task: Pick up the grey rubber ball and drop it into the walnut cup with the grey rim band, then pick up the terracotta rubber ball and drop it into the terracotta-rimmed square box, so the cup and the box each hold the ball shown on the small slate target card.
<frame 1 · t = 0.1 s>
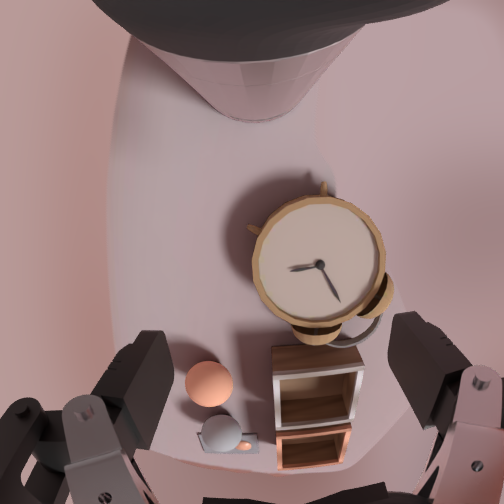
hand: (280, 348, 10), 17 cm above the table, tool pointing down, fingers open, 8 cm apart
terracotta-rimmed square box: (308, 425, 34), on the table
alarm clock: (322, 268, 28), on the table
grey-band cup: (311, 373, 31), on the table
grey ball: (221, 433, 32), point 2 cm above the table
target card: (229, 443, 36), on the table
terracotta ball: (208, 384, 29), point 2 cm above the table
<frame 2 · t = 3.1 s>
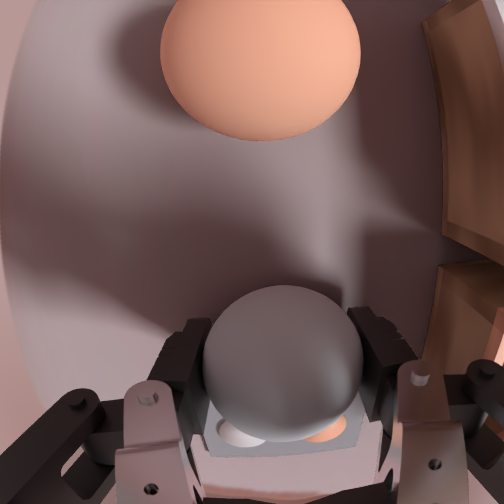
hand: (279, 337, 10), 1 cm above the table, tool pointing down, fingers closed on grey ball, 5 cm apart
terracotta-rimmed square box: (487, 336, 11), on the table
grey ball: (283, 364, 9), point 2 cm above the table, touching gripper
target card: (282, 425, 13), on the table
terracotta ball: (260, 49, 6), point 2 cm above the table
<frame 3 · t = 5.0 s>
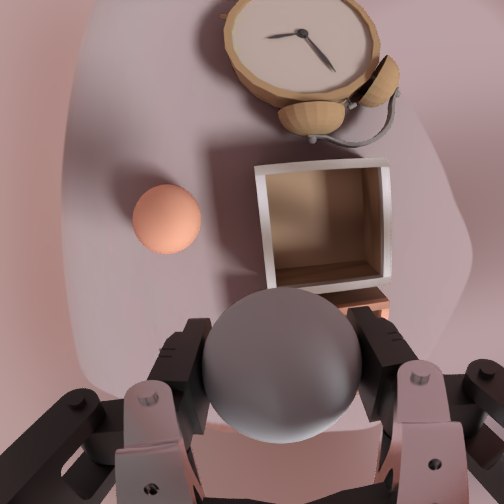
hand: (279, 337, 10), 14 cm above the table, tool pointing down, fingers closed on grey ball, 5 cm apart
terracotta-rimmed square box: (321, 329, 26), on the table
alarm clock: (311, 67, 20), on the table
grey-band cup: (317, 217, 23), on the table
grey ball: (282, 366, 9), point 15 cm above the table, touching gripper
terracotta ball: (166, 219, 21), point 2 cm above the table
when the fingers open (6 cm above the table, at t = 7.2 s): grey ball drops 5 cm, resting on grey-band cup.
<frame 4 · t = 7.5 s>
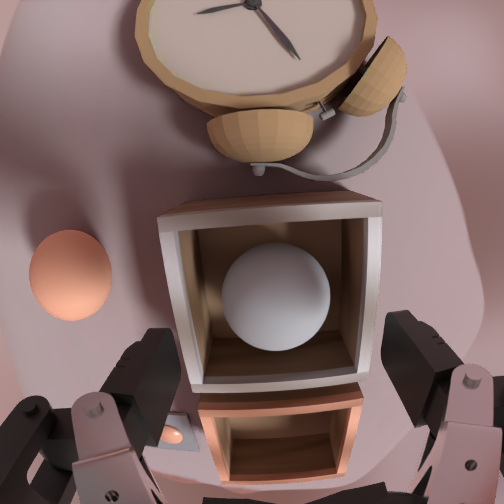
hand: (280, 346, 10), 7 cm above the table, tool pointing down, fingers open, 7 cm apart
terracotta-rimmed square box: (279, 403, 19), on the table
alarm clock: (273, 55, 14), on the table
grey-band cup: (273, 274, 17), on the table
grey ball: (275, 296, 14), point 3 cm above the table, touching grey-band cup
target card: (148, 428, 21), on the table
terracotta ball: (70, 275, 14), point 2 cm above the table
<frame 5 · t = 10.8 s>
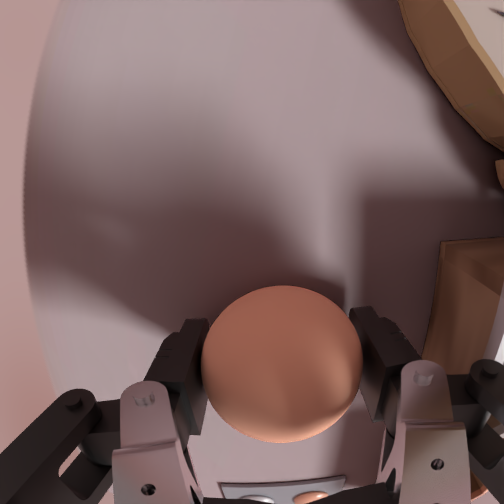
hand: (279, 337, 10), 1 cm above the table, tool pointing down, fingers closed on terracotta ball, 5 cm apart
terracotta-rimmed square box: (441, 442, 14), on the table
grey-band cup: (491, 320, 11), on the table
target card: (283, 497, 16), on the table
terracotta ball: (282, 365, 9), point 2 cm above the table, touching gripper
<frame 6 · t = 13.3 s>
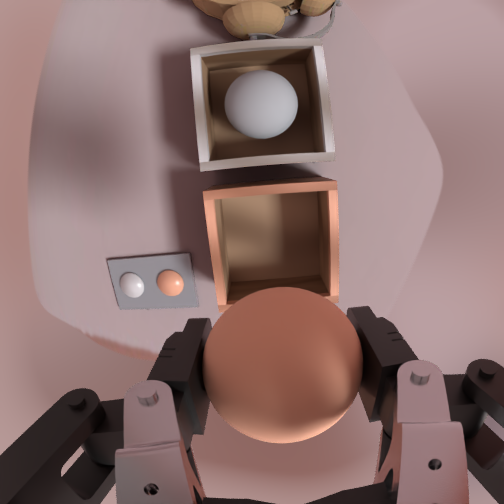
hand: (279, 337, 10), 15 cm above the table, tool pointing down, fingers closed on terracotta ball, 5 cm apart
terracotta-rimmed square box: (272, 233, 25), on the table
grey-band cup: (261, 110, 22), on the table
grey ball: (261, 104, 19), point 3 cm above the table, touching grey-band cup
target card: (152, 282, 26), on the table
terracotta ball: (282, 365, 9), point 16 cm above the table, touching gripper
when the fingers open (6 cm above the table, at t = 15.3 s): terracotta ball drops 5 cm, resting on terracotta-rimmed square box.
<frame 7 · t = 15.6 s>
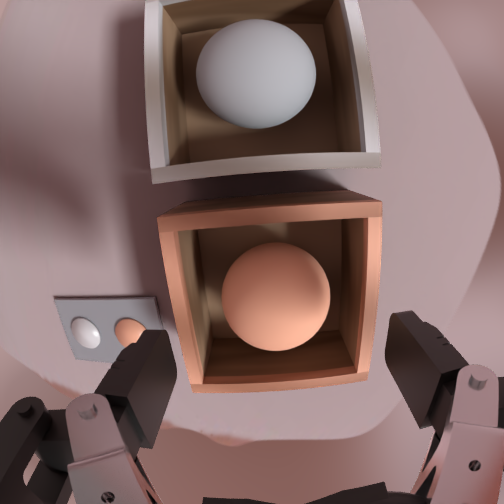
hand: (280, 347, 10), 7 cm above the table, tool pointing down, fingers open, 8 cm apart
terracotta-rimmed square box: (273, 274, 17), on the table
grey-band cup: (258, 88, 14), on the table
grey ball: (256, 73, 11), point 3 cm above the table, touching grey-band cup
target card: (110, 331, 18), on the table
terracotta ball: (275, 296, 14), point 3 cm above the table, touching terracotta-rimmed square box
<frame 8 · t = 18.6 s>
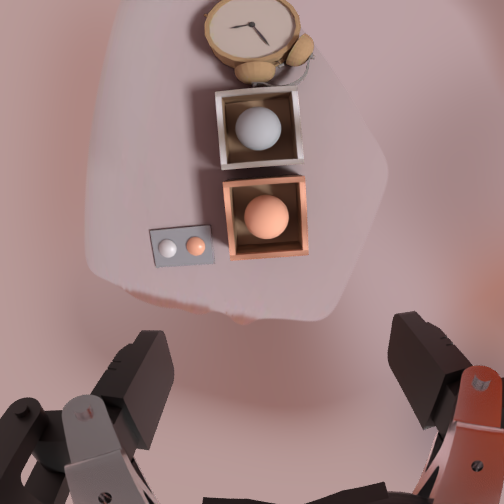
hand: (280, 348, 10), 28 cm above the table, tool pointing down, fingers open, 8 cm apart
terracotta-rimmed square box: (266, 212, 37), on the table
alarm clock: (260, 45, 31), on the table
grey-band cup: (259, 130, 34), on the table
grey ball: (258, 128, 31), point 3 cm above the table, touching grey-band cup
target card: (182, 246, 38), on the table
terracotta ball: (266, 216, 34), point 3 cm above the table, touching terracotta-rimmed square box
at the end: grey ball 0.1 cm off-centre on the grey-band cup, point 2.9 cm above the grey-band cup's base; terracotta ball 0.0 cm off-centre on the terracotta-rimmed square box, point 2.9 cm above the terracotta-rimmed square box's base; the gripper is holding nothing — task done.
